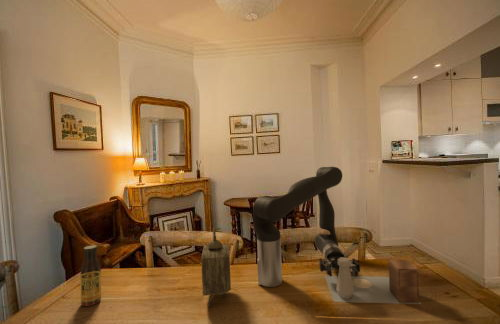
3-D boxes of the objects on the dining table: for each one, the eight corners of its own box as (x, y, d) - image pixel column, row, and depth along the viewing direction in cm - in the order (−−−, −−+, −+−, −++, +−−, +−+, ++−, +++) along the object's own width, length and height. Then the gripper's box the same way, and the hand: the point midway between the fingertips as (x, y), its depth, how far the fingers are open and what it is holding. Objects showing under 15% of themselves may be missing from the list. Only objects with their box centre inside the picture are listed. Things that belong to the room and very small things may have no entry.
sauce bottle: (79, 309, 86) (76, 251, 86) (82, 300, 92) (78, 246, 91) (102, 303, 89) (98, 247, 89) (103, 295, 95) (99, 242, 94)
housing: (399, 302, 82) (398, 268, 82) (389, 290, 89) (388, 259, 89) (418, 302, 81) (418, 268, 81) (407, 291, 88) (407, 259, 88)
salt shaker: (351, 291, 89) (350, 255, 89) (357, 301, 84) (355, 262, 83) (334, 291, 90) (333, 255, 90) (338, 300, 84) (337, 262, 84)
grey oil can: (207, 288, 97) (204, 223, 96) (230, 286, 98) (228, 221, 97) (203, 311, 83) (200, 234, 82) (231, 308, 83) (228, 232, 83)
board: (334, 302, 84) (334, 301, 84) (324, 276, 102) (324, 275, 102) (421, 305, 81) (421, 303, 81) (396, 277, 98) (396, 276, 98)
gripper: (315, 246, 106) (322, 263, 89) (351, 246, 104) (364, 263, 88) (316, 264, 106) (322, 284, 90) (351, 264, 104) (365, 284, 88)
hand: (343, 273), depth 89 cm, fingers open, 8 cm apart
